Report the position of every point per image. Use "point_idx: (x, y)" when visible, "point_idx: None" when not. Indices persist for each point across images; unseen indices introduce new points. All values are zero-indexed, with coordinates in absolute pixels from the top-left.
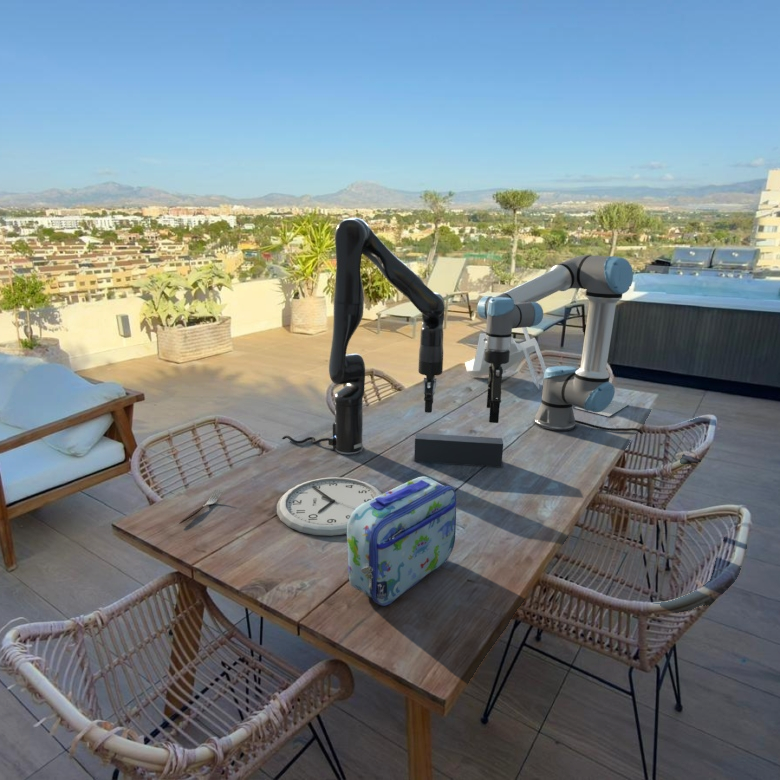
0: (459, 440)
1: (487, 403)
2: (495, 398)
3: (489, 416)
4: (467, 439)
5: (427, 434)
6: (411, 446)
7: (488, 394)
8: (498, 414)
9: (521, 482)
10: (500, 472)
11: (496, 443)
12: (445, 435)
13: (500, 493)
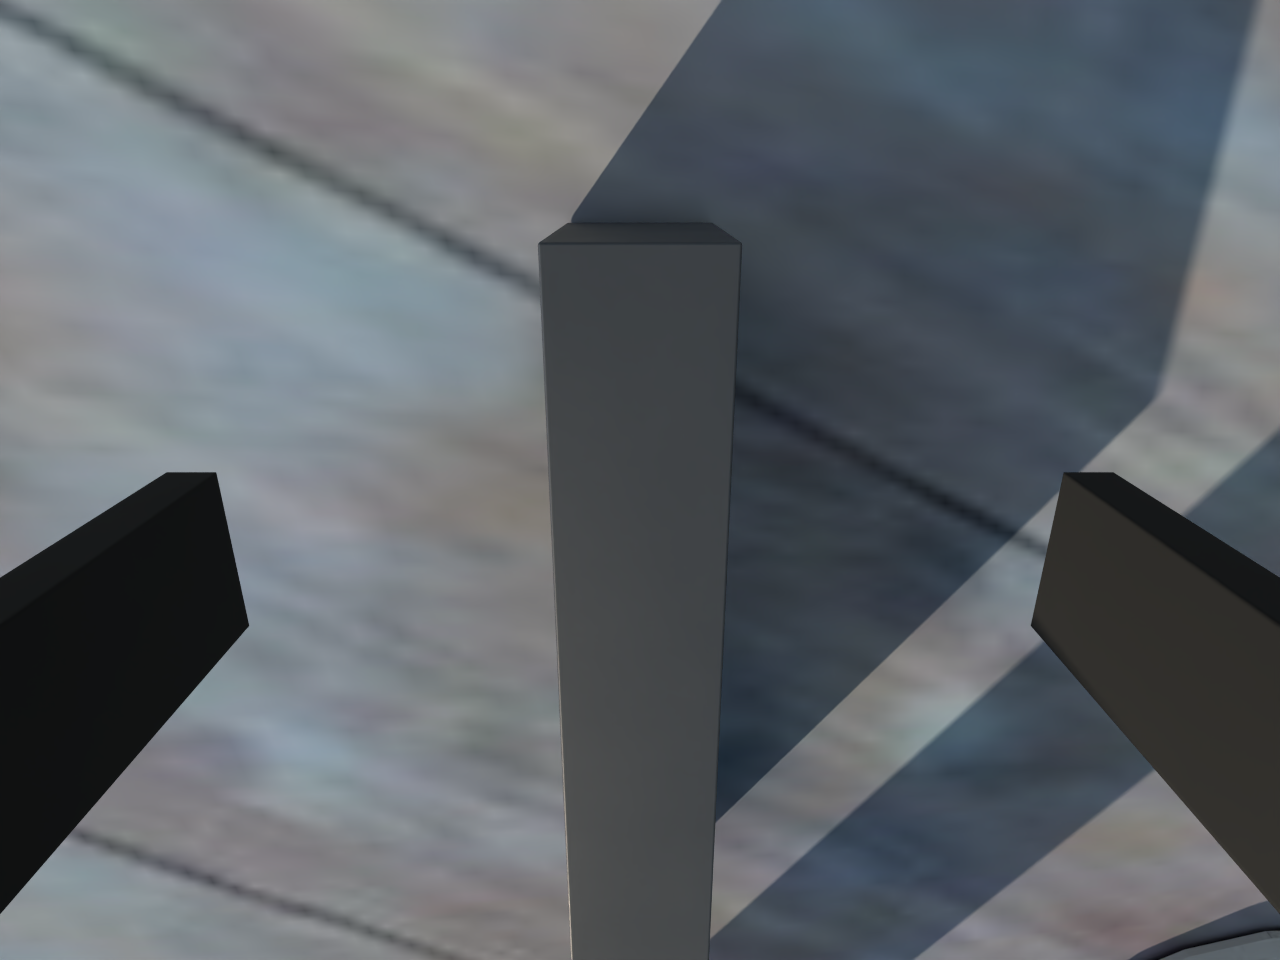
0: (696, 707)
1: (195, 671)
2: (66, 589)
3: (1095, 690)
4: (657, 636)
5: (592, 946)
6: (441, 874)
7: (45, 837)
8: (1243, 565)
9: (1027, 50)
10: (824, 240)
11: (731, 330)
12: (584, 819)
13: (1218, 273)
